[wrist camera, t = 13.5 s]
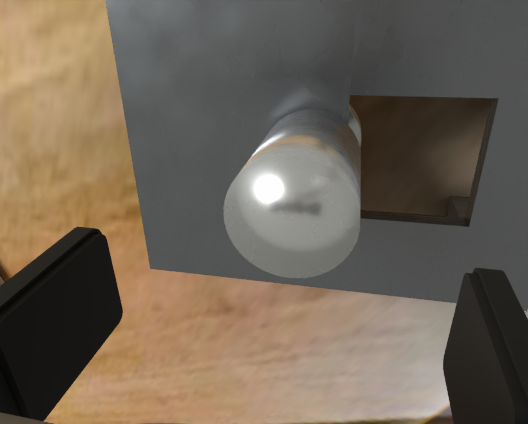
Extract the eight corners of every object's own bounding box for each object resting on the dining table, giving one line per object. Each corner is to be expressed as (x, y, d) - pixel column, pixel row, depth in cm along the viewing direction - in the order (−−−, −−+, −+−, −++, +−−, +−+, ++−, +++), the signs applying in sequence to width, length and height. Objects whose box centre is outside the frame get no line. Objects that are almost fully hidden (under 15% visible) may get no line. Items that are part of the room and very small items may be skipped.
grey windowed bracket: (553, -21, 22) (641, -32, 15) (487, 237, 29) (526, 310, 22) (171, -10, 27) (102, -15, 20) (194, 213, 34) (150, 268, 27)
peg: (364, 92, 23) (366, 159, 13) (357, 175, 26) (354, 285, 16) (278, 91, 24) (219, 151, 14) (278, 170, 27) (227, 271, 17)
